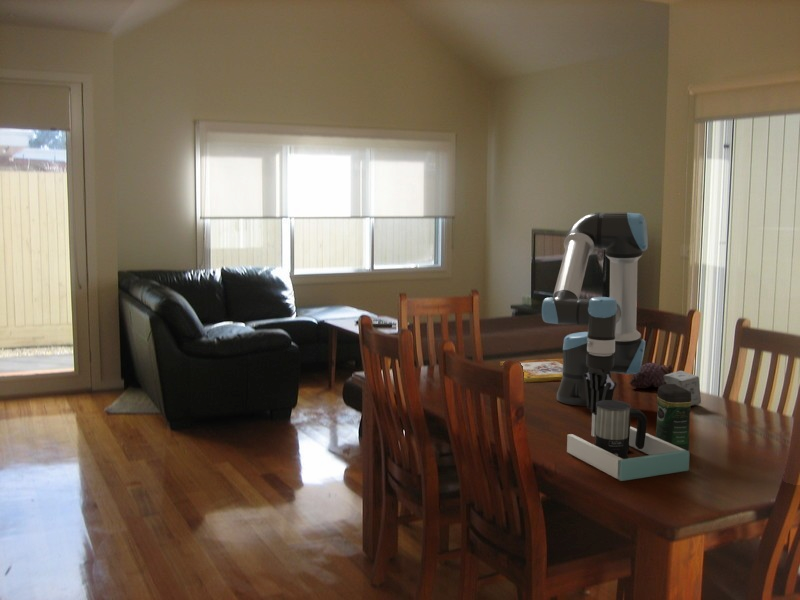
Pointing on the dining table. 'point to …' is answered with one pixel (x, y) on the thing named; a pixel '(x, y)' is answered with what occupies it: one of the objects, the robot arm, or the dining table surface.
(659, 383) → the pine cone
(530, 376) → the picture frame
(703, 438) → the dining table surface
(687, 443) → the coffee jar
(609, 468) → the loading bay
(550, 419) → the dining table surface
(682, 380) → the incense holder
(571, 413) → the dining table surface
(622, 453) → the milk frother
